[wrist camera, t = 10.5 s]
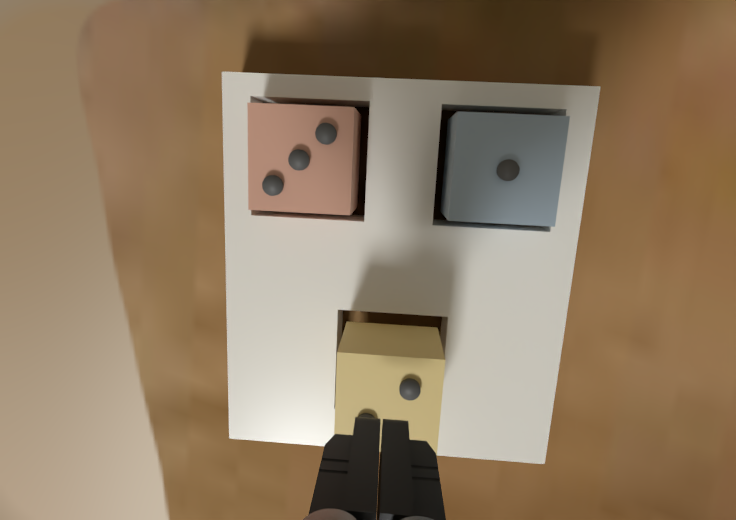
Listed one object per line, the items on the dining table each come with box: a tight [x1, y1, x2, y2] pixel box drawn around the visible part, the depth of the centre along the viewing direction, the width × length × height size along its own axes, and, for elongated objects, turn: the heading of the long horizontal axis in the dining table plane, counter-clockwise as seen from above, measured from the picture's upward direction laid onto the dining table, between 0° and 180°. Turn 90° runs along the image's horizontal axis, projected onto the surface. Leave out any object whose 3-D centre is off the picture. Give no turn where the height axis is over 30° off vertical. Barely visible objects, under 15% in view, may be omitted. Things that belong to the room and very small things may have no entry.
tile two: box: [334, 321, 445, 456], centre depth 17 cm, size 4×4×3 cm
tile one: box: [440, 111, 570, 227], centre depth 17 cm, size 4×4×3 cm
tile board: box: [222, 72, 600, 464], centre depth 19 cm, size 14×15×2 cm
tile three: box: [247, 102, 361, 215], centre depth 17 cm, size 4×4×3 cm
